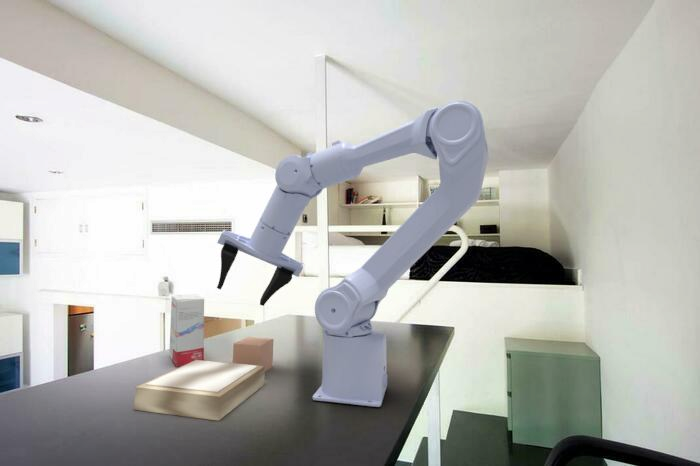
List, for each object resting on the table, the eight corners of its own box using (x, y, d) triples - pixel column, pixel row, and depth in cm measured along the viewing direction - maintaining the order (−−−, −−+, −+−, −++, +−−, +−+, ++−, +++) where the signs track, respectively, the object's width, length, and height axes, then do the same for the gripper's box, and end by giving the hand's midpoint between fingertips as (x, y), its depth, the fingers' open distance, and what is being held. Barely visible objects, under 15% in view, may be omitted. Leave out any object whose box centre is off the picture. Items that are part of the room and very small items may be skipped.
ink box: (204, 363, 63) (207, 298, 64) (173, 368, 60) (176, 299, 61) (195, 352, 70) (198, 293, 71) (167, 355, 67) (170, 294, 68)
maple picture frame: (264, 384, 53) (264, 364, 53) (218, 420, 41) (219, 394, 42) (195, 377, 56) (195, 358, 56) (134, 409, 44) (135, 385, 44)
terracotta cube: (272, 367, 62) (273, 338, 62) (259, 376, 57) (260, 345, 57) (247, 364, 63) (248, 336, 63) (232, 373, 58) (233, 343, 58)
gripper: (312, 237, 64) (279, 299, 66) (237, 202, 59) (204, 269, 61) (316, 249, 57) (279, 318, 59) (231, 211, 53) (195, 286, 55)
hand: (241, 294), depth 60 cm, fingers open, 7 cm apart
